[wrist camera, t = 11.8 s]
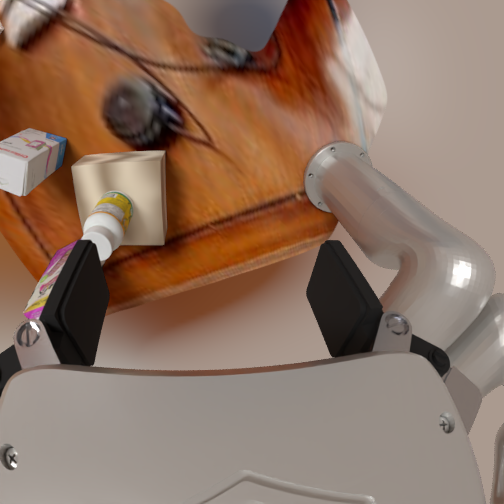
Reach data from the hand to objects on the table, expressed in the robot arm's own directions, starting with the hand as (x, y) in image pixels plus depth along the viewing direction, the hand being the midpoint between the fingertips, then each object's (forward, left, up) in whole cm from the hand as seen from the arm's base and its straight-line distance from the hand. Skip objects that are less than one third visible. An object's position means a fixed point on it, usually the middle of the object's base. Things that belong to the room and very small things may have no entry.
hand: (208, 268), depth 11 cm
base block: (+12, +10, -30) cm, 34 cm away
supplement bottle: (+12, +10, -26) cm, 30 cm away
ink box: (+26, +1, -31) cm, 40 cm away
